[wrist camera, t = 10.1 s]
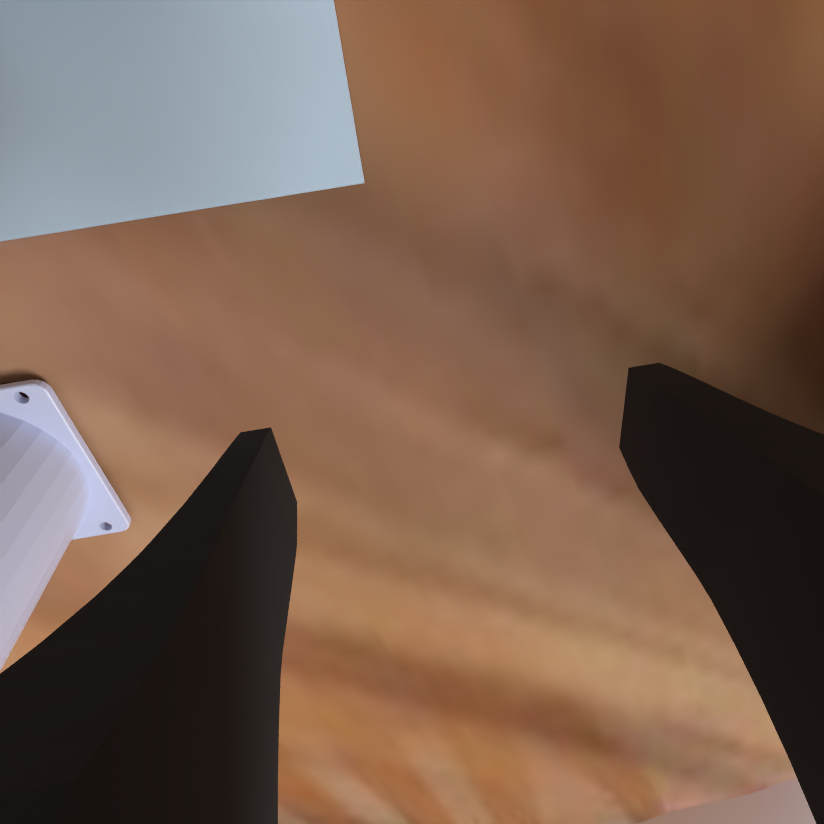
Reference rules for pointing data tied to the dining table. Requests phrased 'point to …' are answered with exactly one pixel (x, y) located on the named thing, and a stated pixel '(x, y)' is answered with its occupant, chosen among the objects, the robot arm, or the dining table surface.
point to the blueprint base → (166, 108)
